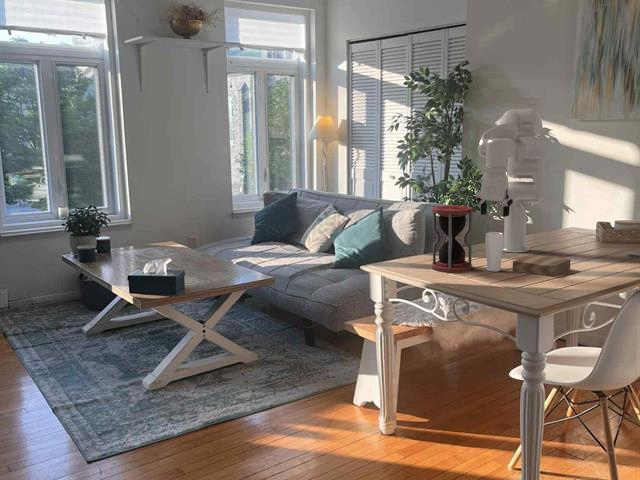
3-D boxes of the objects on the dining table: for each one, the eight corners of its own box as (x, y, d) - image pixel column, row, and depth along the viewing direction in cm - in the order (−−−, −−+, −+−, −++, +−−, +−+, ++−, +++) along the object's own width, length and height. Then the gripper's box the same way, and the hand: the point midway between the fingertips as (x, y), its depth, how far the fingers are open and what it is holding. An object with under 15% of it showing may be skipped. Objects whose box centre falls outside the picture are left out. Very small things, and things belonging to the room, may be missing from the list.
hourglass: (470, 273, 246) (471, 210, 241) (428, 271, 251) (429, 209, 246) (473, 265, 261) (474, 205, 256) (434, 263, 266) (435, 204, 261)
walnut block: (512, 270, 248) (512, 260, 248) (532, 264, 259) (532, 254, 259) (551, 276, 237) (551, 266, 236) (570, 269, 248) (570, 259, 247)
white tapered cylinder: (503, 269, 252) (503, 232, 249) (502, 272, 246) (503, 235, 243) (485, 268, 254) (486, 231, 251) (484, 271, 248) (485, 234, 245)
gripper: (471, 171, 246) (470, 214, 249) (511, 172, 234) (510, 218, 237) (481, 170, 252) (480, 212, 254) (521, 171, 239) (519, 216, 242)
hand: (494, 215), depth 246 cm, fingers open, 9 cm apart
